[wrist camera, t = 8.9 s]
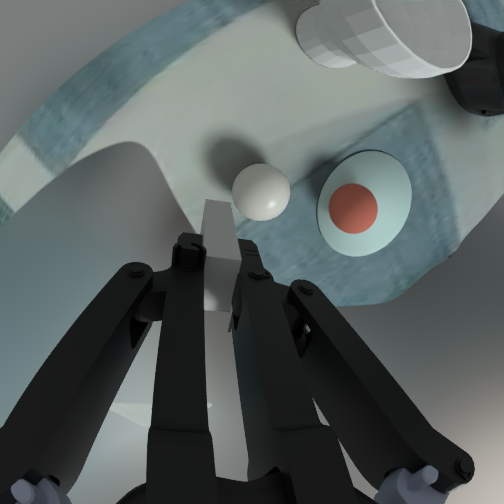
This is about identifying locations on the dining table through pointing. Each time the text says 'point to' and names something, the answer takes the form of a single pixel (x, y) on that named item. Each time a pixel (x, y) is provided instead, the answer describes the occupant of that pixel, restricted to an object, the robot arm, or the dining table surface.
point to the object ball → (353, 208)
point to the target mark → (385, 192)
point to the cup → (388, 35)
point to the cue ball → (261, 192)
